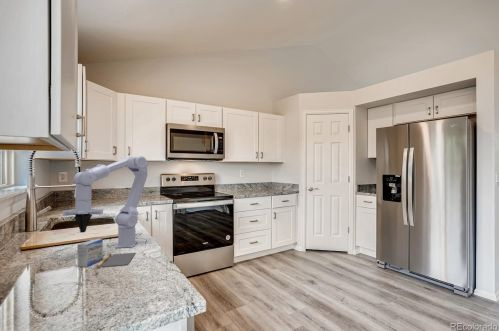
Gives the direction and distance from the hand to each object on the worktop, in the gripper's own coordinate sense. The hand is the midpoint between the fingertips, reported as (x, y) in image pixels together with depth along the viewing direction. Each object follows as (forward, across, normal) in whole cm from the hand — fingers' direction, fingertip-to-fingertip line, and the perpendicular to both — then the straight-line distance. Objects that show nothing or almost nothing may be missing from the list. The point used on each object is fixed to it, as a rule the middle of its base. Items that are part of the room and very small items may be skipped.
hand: (83, 232), depth 106 cm
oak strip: (+10, +11, -9) cm, 18 cm away
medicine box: (+11, +6, -9) cm, 15 cm away
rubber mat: (+10, +16, -8) cm, 21 cm away
